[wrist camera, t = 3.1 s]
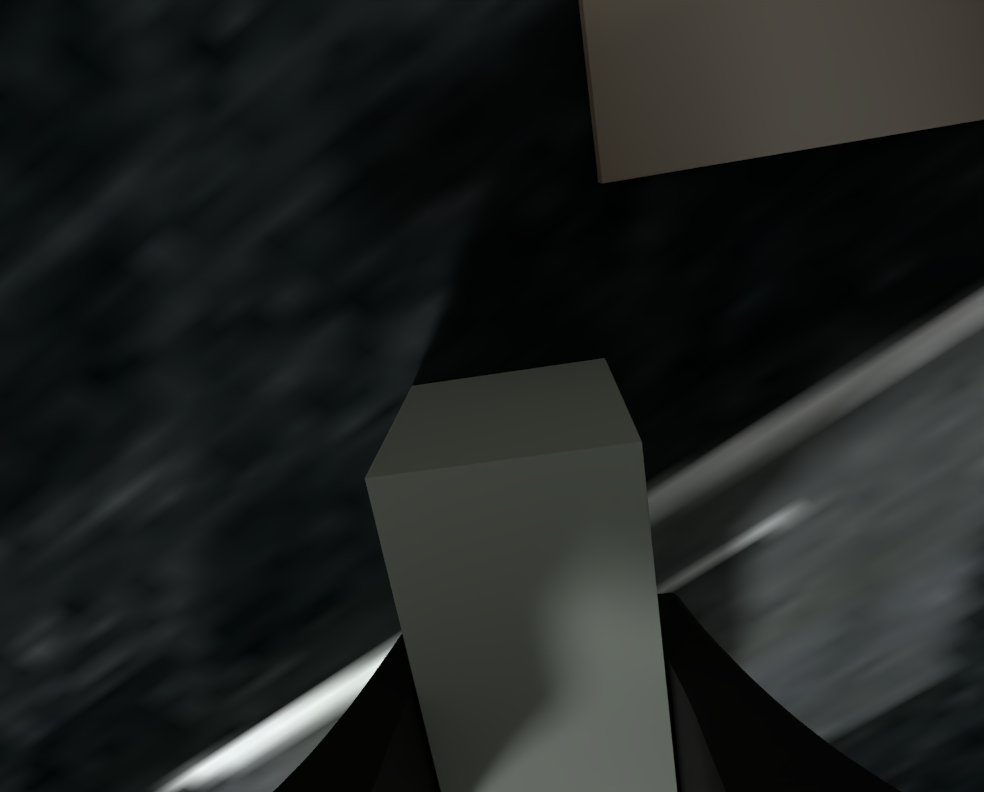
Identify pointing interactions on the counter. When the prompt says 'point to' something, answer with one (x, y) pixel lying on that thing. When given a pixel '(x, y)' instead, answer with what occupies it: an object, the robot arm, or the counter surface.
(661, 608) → the robot arm
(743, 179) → the counter surface
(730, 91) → the arch base
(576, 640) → the lintel
